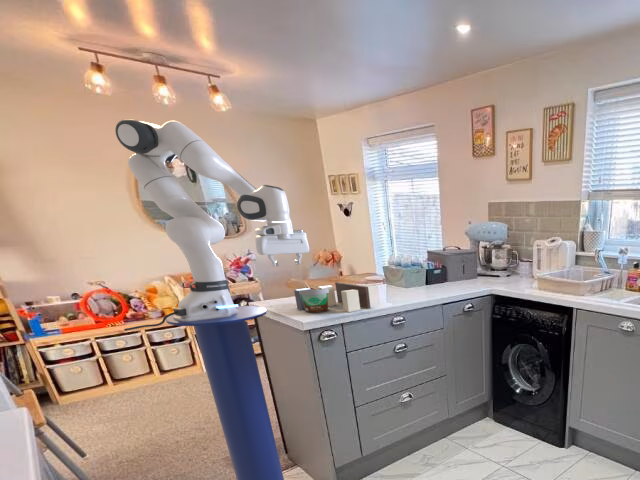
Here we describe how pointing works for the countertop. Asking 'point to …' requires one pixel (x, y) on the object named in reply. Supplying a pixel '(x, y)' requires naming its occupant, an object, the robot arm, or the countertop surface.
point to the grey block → (299, 299)
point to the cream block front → (350, 300)
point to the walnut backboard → (362, 293)
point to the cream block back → (329, 294)
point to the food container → (315, 300)
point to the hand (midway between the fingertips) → (287, 265)
